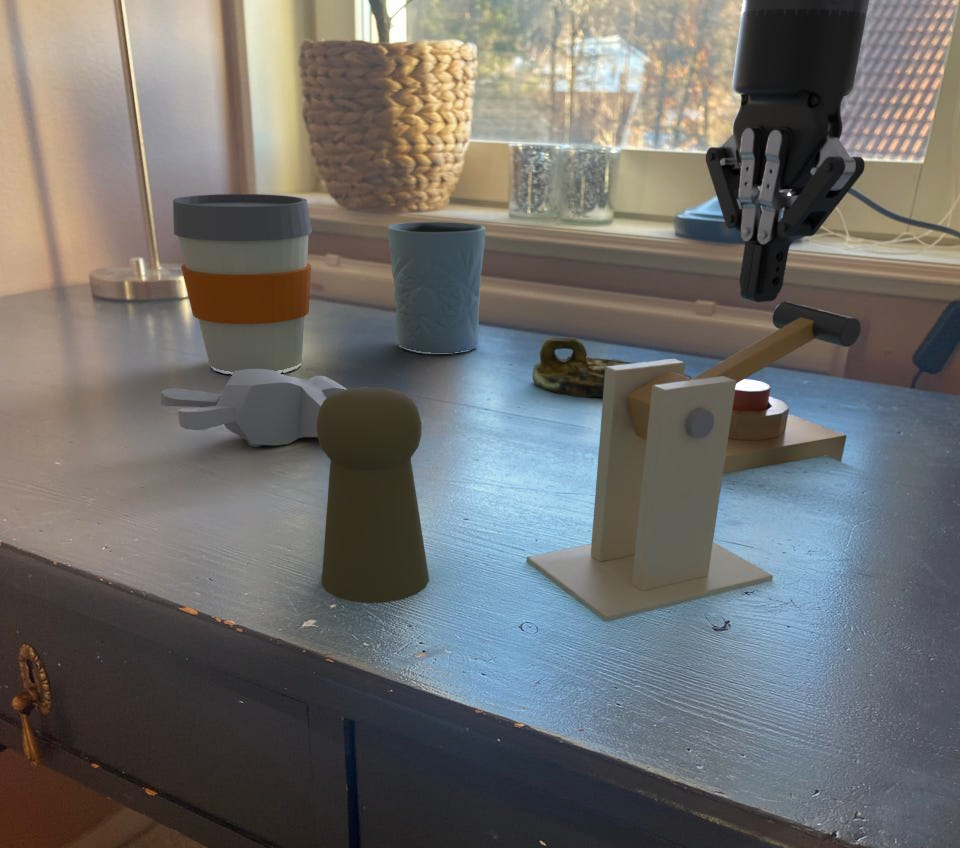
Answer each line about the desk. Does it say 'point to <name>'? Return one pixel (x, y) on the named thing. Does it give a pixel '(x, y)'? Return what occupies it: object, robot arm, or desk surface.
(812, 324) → the lever
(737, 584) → the bracket
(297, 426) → the bunny figurine
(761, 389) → the button
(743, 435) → the button block
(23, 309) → the desk surface
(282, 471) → the desk surface
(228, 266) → the reusable coffee cup
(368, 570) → the cork
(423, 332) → the blue embossed cup
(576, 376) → the seal
